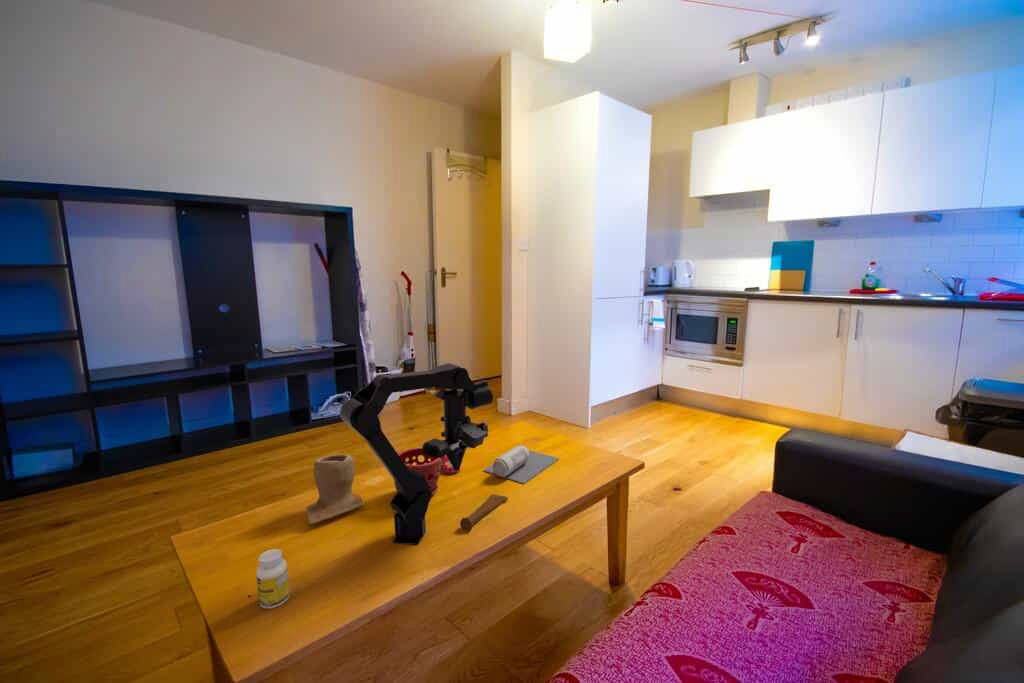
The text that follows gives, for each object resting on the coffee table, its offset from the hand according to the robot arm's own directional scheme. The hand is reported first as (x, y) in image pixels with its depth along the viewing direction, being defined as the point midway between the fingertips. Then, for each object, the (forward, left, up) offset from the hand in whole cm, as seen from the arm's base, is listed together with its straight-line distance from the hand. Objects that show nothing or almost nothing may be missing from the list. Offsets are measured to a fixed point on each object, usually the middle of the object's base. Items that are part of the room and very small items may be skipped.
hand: (456, 470), depth 116 cm
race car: (-10, +30, -14) cm, 34 cm away
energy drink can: (+8, +22, -10) cm, 25 cm away
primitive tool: (+6, +3, -14) cm, 15 cm away
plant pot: (-14, +11, -13) cm, 22 cm away
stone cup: (-35, 0, -13) cm, 37 cm away
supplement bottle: (-30, -33, -13) cm, 47 cm away
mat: (+15, +33, -13) cm, 38 cm away
